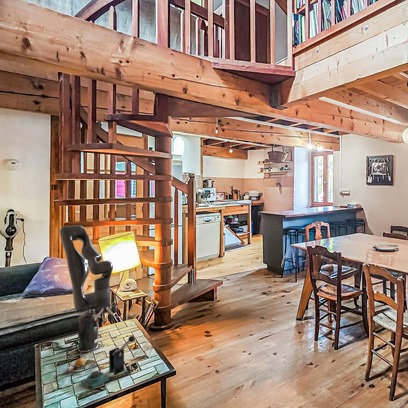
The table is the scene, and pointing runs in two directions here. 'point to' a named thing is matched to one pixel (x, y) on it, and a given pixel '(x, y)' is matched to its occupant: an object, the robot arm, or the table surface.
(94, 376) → the button
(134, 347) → the table surface
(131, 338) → the lever
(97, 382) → the button box
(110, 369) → the bracket
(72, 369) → the burger
